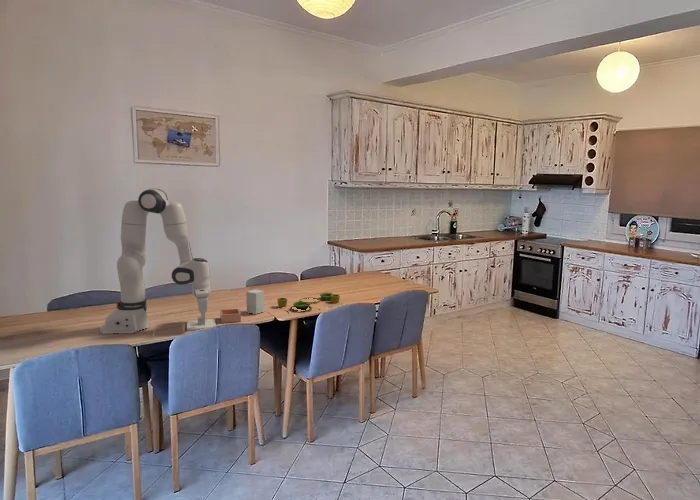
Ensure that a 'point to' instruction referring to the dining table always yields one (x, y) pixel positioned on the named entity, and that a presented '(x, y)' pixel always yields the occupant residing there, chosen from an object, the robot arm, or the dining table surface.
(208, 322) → the lid
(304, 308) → the tableware set
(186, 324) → the mat
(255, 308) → the supplement box
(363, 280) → the dining table surface
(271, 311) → the dining table surface
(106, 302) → the dining table surface
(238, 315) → the brown open box
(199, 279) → the robot arm
